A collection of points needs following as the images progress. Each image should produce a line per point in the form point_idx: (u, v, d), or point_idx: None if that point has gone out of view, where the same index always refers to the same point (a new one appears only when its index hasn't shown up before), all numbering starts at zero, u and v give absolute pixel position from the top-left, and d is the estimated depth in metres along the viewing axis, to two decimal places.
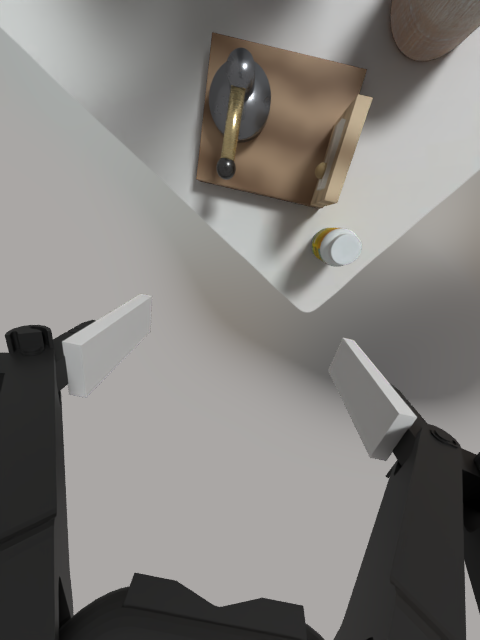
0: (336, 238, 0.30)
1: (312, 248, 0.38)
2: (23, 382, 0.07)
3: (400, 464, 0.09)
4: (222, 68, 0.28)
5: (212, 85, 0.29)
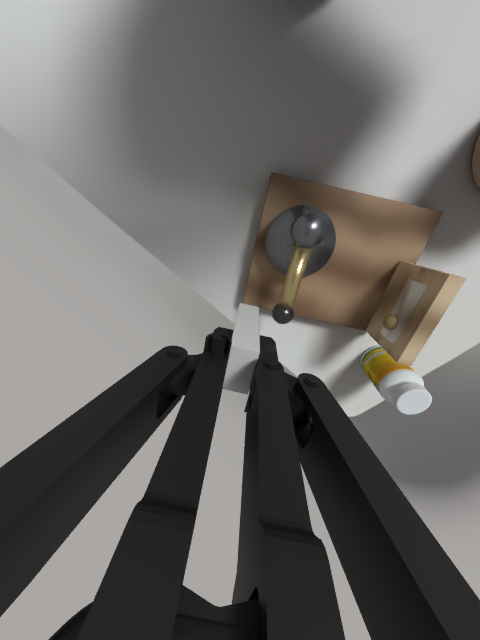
0: (403, 390, 0.27)
1: (362, 366, 0.35)
2: (205, 376, 0.09)
3: (251, 397, 0.11)
4: (283, 214, 0.25)
5: (270, 229, 0.26)
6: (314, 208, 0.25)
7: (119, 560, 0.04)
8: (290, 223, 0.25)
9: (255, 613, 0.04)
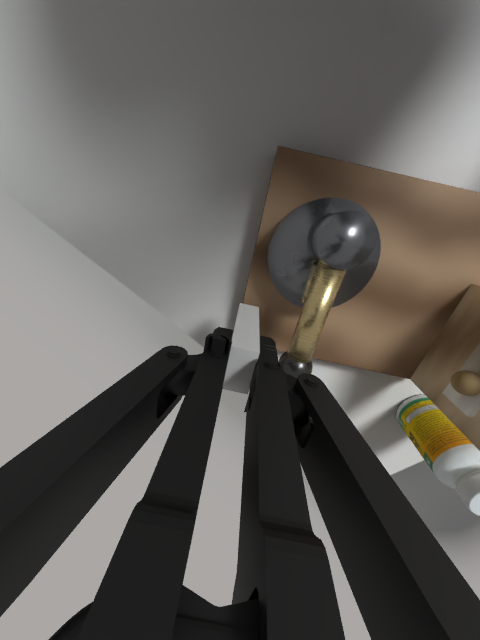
0: None
1: (401, 422, 0.26)
2: (205, 376, 0.09)
3: (251, 397, 0.11)
4: (298, 212, 0.16)
5: (276, 237, 0.16)
6: (348, 203, 0.15)
7: (119, 560, 0.04)
8: (308, 227, 0.16)
9: (255, 613, 0.04)
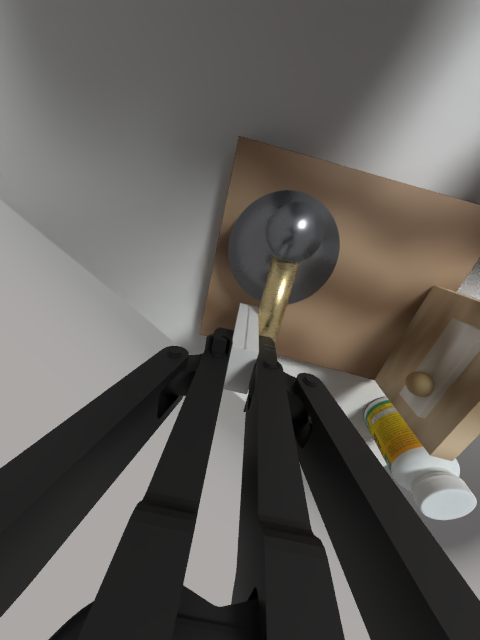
0: (433, 487, 0.18)
1: (367, 423, 0.26)
2: (206, 377, 0.09)
3: (250, 397, 0.11)
4: (254, 206, 0.15)
5: (235, 231, 0.16)
6: (303, 196, 0.15)
7: (120, 560, 0.04)
8: (265, 221, 0.16)
9: (254, 613, 0.04)
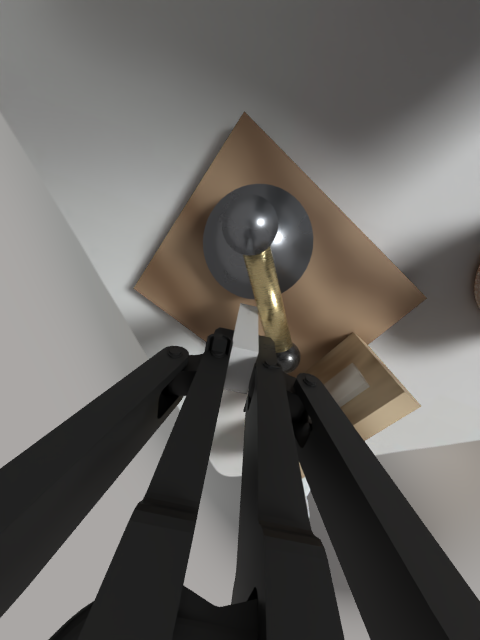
0: None
1: None
2: (206, 377, 0.09)
3: (250, 397, 0.11)
4: (211, 221, 0.16)
5: (206, 250, 0.17)
6: (248, 187, 0.15)
7: (120, 560, 0.04)
8: None
9: (254, 613, 0.04)
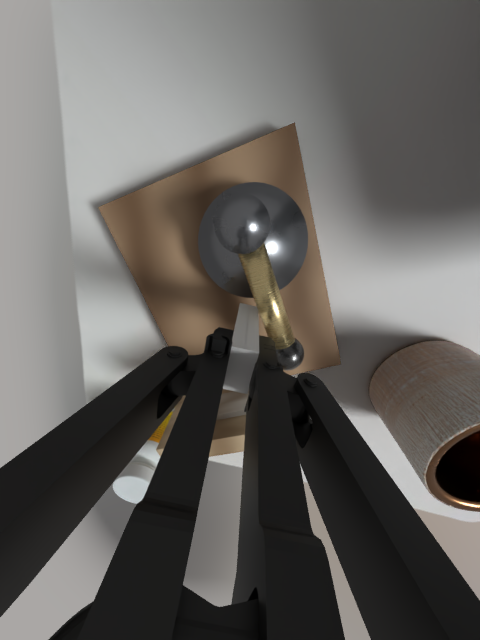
0: (137, 473, 0.20)
1: None
2: (206, 376, 0.09)
3: (250, 397, 0.11)
4: (204, 223, 0.16)
5: (202, 253, 0.17)
6: (238, 187, 0.15)
7: (119, 560, 0.04)
8: None
9: (255, 613, 0.04)
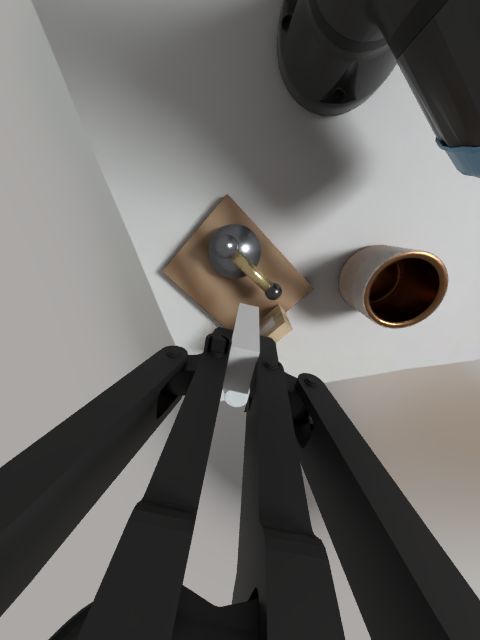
0: None
1: None
2: (205, 376, 0.09)
3: (251, 397, 0.11)
4: (210, 254, 0.34)
5: (215, 267, 0.35)
6: (217, 232, 0.33)
7: (119, 560, 0.04)
8: None
9: (255, 613, 0.04)
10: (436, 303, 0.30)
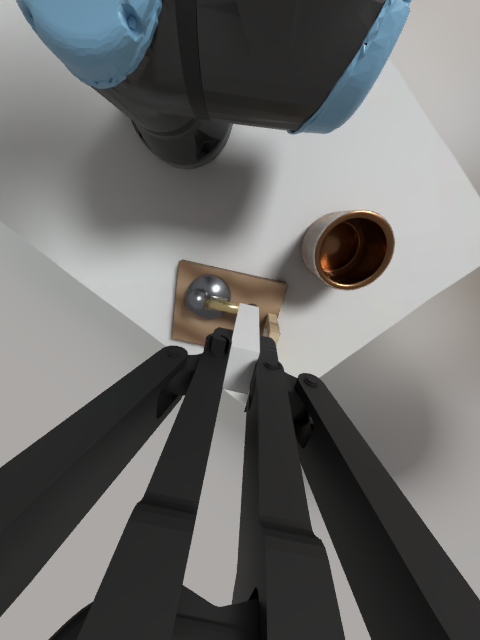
0: None
1: None
2: (205, 376, 0.09)
3: (251, 397, 0.11)
4: None
5: (201, 316, 0.42)
6: (187, 292, 0.40)
7: (119, 560, 0.04)
8: None
9: (255, 613, 0.04)
10: (390, 243, 0.30)
